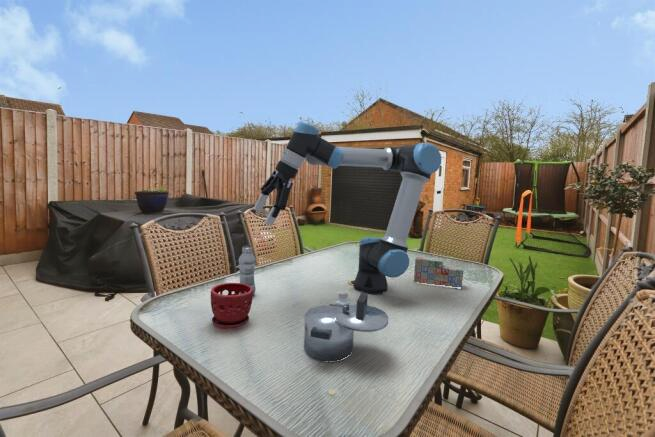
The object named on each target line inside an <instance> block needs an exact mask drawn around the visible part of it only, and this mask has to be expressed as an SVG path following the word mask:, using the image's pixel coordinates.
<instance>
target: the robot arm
mask: <svg viewBox="0 0 655 437" xmlns="http://www.w3.org/2000/svg"><path fill="white" fill-rule="evenodd" d="M319 132H320V130H319V128H318V127H316V126H315V125H313V124H311V123H309V122H307V121H305V120H300V121H299V122H298V124H297V125H296V127H295V129H294V130H293V133H292V135H291V136H290V138H289V141H288V143H287V145H286V148H285V149H284V150H283V151H282V154H281V156H280V160H278V163H277V164H276V166H275V168H274V169H275V170H274V171H273V172H272V173H271V174H270V176H269V177H268V178H267V180H266V181H265V182H264V184H263V185H262V186H261V187H260V192H261V194H260V196H259V198H258V199H257V202H256V203H255V205H254V207H253V210H254V211H257V212H259V213H261V212H262V209H263V208H264V206H265V204H266V201H267V199H268V198H269V197H270V194H272V192H273V191H275V190H276V194H275V195H276V196H275V202H274V204H273V205H272V208H271V210H270V211H269V213H268V215H267V218H266V219H265V222H264V224H265V225H267V226H270V227H273V225H274V224H275V222H276V220H277V218H278V216H279V214H280V212H281V211H285V210H286V207H287V206H288V205H287V204H288V200H289V197H290V193H291V189H292V187H293V184H294V183H293V182H291V181H290V180H291V179H293V180H294V179H295V178H296V176H297V175H298V173H299V169H301V168H302V166H303V163H304V161H306V162H307V163H308V164H309V165H312V166H317V165H318V166H327V167H328V168H332V169H337V168H338V167H340V166H341V167H343V166H344V167H345V166H346V167H362V168H382V169H383V170H384V171H392V172H398V173H400V175H401V178H402V180H401V183H400V187H399V190H398V192H397V195H396V199H395V203H394V206H393V209H392V212H391V215H390V219H389V221H388V225H387V228H386V231H385V234H384V235H383V236H382V237H381V236H380V237H378V236H377V237H374V236H372V237H368V236H367V237H362V238H361V239H360V240H359V246H358V247H359V249H358V250H359V252H358V267H357V268H358V269H357V270H358V271H357V274H356V276H355V279H354V281H353V289H354V290H356V291H357V292H360V293H362V294H367V293H368V295H379V294H378V293H381V294H384V293H383V292H385V293H387V292H386V291H388V288H389V283H388V281H387V277H388V278H390V279H391V278H392V279H394V278H399V277H400V276H401V275H404V274H405V272H406V271H407V270H408V268H409V266H410V257H409V255H408V250H409V244H408V243H407V240H408V237H409V235H410V234H409V233H410V231H411V227H412V224H413V220H414V218H415V215H416V211H417V208H418V205H419V202H420V198H421V196H422V192H423V189H424V186H425V184H427V183H428V182H430V180H431V177H432V174H434V173H435V172H437V171H439V169H440V168H441V164H442V154H441V153H440V150H439V148H438V147H437V146H436V145H435V144H433V143H431V142H420V143H414V144H406V145H402V146H395V147H391V146H389V147H384V149H383V148H381V149H380V148H365V147H353V146H352V147H350V146H337V145H335V144H333V143H331V142H329V141H328V140H326V139H325V138H322V137H321V136H320V135H319Z"/></svg>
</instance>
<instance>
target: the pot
mask: <svg viewBox="0 0 655 437" xmlns="http://www.w3.org/2000/svg"><path fill="white" fill-rule="evenodd" d="M340 307H343V306H340V305H335V304H333V303H332V304H331V303H329V304H325V305H317V306H313V307H311V308H308V309H307V310H306V312H305V314H304V335H303V336H304V337H303V351H304V353H305V355H307V356H308V357H309V358H311V359H313V360H316V361H319V362H322V361H328V362H327V363H330V362H329V361H337V360H341V359H343V358H345V357H347V356H348V355H350V354H351V352H352V350H353V351H354V336H355V334H354V333H355V331H354V330H350V329H347V328H345V327H342V326H341V325H339V324H338V323H337V322H336V320H335V312H336V310H337V309H338V308H340ZM352 353H353V352H352ZM351 355H352V354H351Z"/></svg>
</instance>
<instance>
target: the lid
mask: <svg viewBox="0 0 655 437" xmlns="http://www.w3.org/2000/svg"><path fill="white" fill-rule="evenodd" d="M368 297H369V294H367V293H362V292H360V294H359V296H358V297H357V298H358V299H357V300H356V304H350V305H347V304H344V305H343V307H340V308H338V309H337V310H336V312H335V320H336V322H337V323H338V324H339V325H341V326H342V327H345V328H347V329H350V330H354V332H355V331H356V332H363V333H364V332H365V333H369V332H371V333H372V332H378V331H381V330H384V329H385V328H387V326H388V324H389V315H388V314H387V312H386V311H384V310H382V309H380V308H378V307H376V306H373V305H372V306H371V305H368V300H369V299H368Z"/></svg>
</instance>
